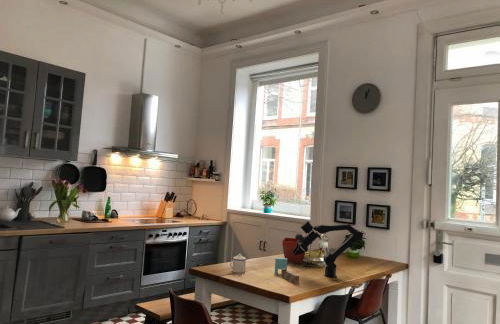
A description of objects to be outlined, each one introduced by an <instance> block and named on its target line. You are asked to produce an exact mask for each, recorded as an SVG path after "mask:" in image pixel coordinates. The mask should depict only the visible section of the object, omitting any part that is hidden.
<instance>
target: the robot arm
mask: <svg viewBox="0 0 500 324" xmlns="http://www.w3.org/2000/svg"><path fill="white" fill-rule="evenodd" d="M300 229H301V230H302V232H304V233H305V234H307V235H305V236H303V234H301V233H300V234H299V233H296V234H295V236H294V238H296V239H299V240H298V241H297V242H298V243H297V246H296V247H295V249H294V250H293V253H294V256H295V255H298V254H301V253H305V252H306V253H307V252H308V251H309V246H311V245H312V244H313V243H314V242H315V241H316V240H317V239H320V240H321V239H322V234H326V233H329V232H335V231H336V232H337V231H338V232H339V231H348V232H349V233H350V235H349V237H348V239H346V240H345V241H344V242H343V243H342V244H340V245H339V246H338V247H337V248H335V250H333V251H332V252H330V251H328V252H327V253H326V254H325V255H324V256H323V262H324V264H325V265H326V266H325V268H324V277H328V278H336V277H337V276H338V275H337V265H336V263H335V262H336V261H337V258H338V257H339V256H340V255H341V254H343V252H344V251H346V250H347V249H348V248H350V247H351V246H352V245H353V244H355V243H357V242H359V241H360V240H362V239H363V237H364V236H363V233H362V232H361V231H360V230H357V229H355V228H354V227H353V226H352V224H349V223H345V224H332V225H329V224H320V223H319V224H317V225H315V226H314V225H312V224H311V223H310V222H309V220H306V222H304V223H302V224H301V226H300ZM306 253H305V254H306Z"/></svg>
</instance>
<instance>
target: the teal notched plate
mask: <svg viewBox="0 0 500 324" xmlns="http://www.w3.org/2000/svg"><path fill="white" fill-rule="evenodd" d="M281 269H286V271H288V262H287V258H285V257H284V258H282V257H275V259H274V274H278V273H279V270H281Z"/></svg>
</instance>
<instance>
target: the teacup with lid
mask: <svg viewBox="0 0 500 324" xmlns="http://www.w3.org/2000/svg"><path fill="white" fill-rule="evenodd" d="M246 262H247V258H246V257H244V256H243V255H242V254H241V253H238V254H237V255H236V256H233V258H232V260H231V261H230V263H229V267H230V268H231V269H232V272H233V273H237V274H238V273H239V274H240V273H241V274H242V273H243V274H244V273H245V272H246Z"/></svg>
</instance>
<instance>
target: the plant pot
mask: <svg viewBox="0 0 500 324" xmlns="http://www.w3.org/2000/svg"><path fill="white" fill-rule="evenodd" d="M298 240H299V239H296V238H295V237H284V238H283V239H282V241H281V242H282V243H281V244H282V250H283V251H282V252H283V256H284V258H287V263H293V264H294V263H295V264H302V263H303V262H304V259H305V256H304V255H306V253H301V254H298V255H295V256H294V253H293V250H294V249H295V247H296V246H297V243H298V242H297V241H298ZM302 261H303V262H302ZM301 262H302V263H301Z"/></svg>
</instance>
